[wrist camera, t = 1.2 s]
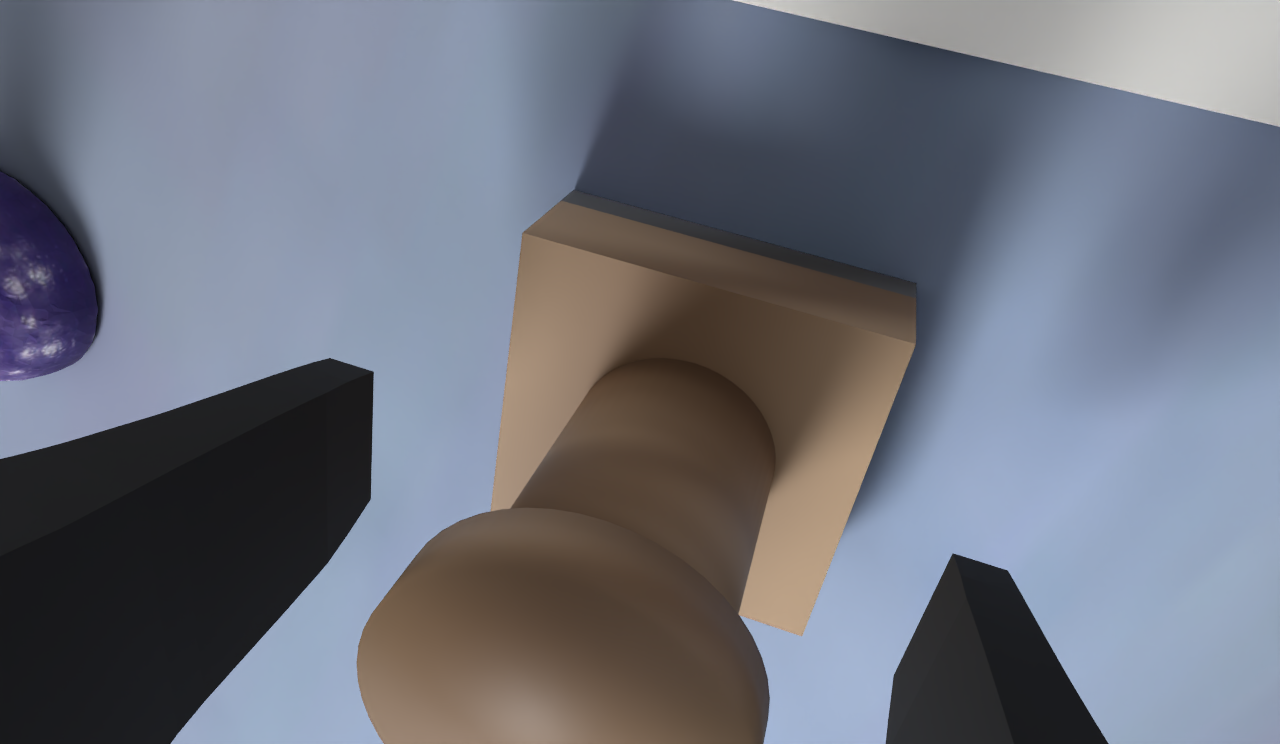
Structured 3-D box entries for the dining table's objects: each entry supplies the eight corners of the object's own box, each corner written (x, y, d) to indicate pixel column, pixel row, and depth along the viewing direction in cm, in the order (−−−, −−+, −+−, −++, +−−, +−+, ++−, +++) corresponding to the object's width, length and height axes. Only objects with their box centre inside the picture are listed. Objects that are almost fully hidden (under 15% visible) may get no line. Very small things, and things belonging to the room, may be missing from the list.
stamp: (916, 281, 12) (914, 633, 6) (815, 550, 15) (747, 976, 9) (575, 188, 13) (291, 427, 7) (535, 460, 15) (305, 798, 10)
